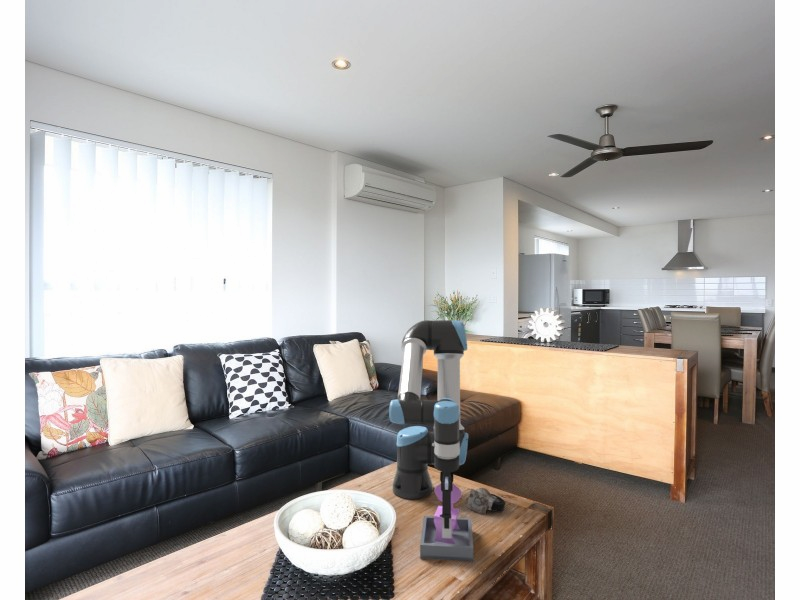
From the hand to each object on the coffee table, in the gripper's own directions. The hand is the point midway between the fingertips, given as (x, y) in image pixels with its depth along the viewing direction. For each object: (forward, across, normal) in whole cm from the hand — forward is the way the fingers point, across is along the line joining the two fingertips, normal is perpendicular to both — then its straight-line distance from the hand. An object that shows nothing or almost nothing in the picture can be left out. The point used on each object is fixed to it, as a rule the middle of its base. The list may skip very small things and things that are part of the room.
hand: (446, 528), depth 135 cm
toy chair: (+3, 0, 0) cm, 3 cm away
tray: (+5, 0, 0) cm, 5 cm away
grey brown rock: (+5, -23, +14) cm, 27 cm away
